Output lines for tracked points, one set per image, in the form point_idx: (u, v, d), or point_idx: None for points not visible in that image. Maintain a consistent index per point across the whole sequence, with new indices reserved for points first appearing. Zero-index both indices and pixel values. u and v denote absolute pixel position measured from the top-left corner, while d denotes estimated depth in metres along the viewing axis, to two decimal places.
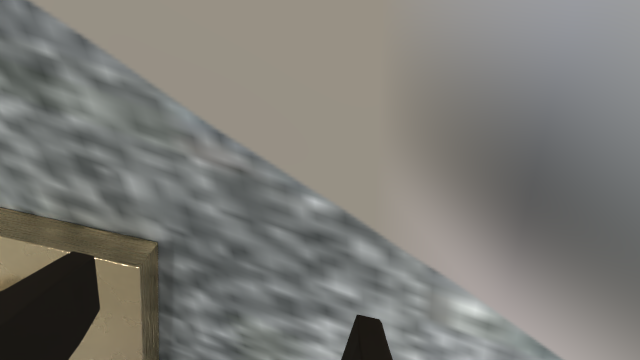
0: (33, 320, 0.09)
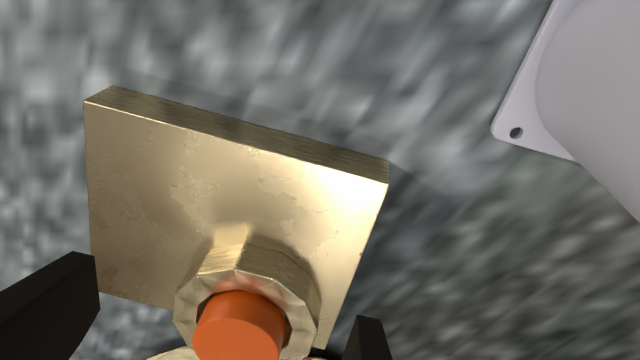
0: (33, 320, 0.09)
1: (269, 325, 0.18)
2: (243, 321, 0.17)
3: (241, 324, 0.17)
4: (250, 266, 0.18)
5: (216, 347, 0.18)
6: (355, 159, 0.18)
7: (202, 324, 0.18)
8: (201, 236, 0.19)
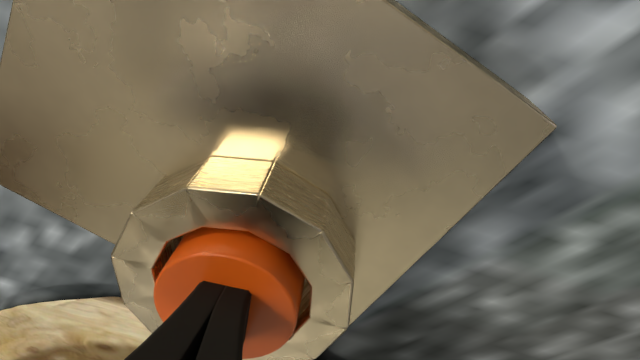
0: (191, 355, 0.09)
1: (293, 285, 0.11)
2: (260, 269, 0.10)
3: (254, 273, 0.10)
4: (284, 199, 0.10)
5: None
6: (496, 77, 0.11)
7: (186, 257, 0.10)
8: (204, 130, 0.11)
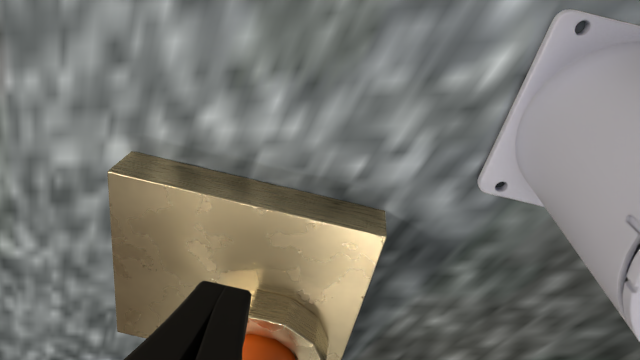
0: (191, 355, 0.09)
1: None
2: None
3: None
4: (262, 313, 0.20)
5: None
6: (354, 212, 0.20)
7: None
8: None
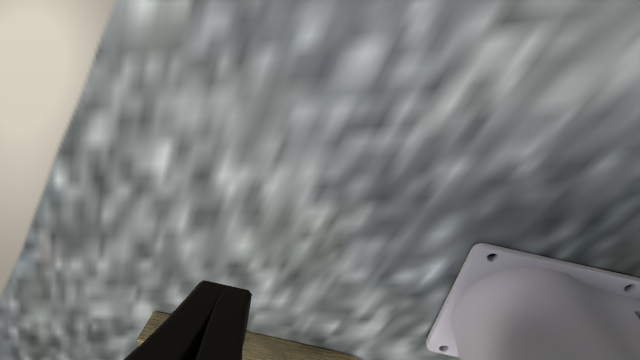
0: (191, 355, 0.09)
1: None
2: None
3: None
4: None
5: None
6: None
7: None
8: None
